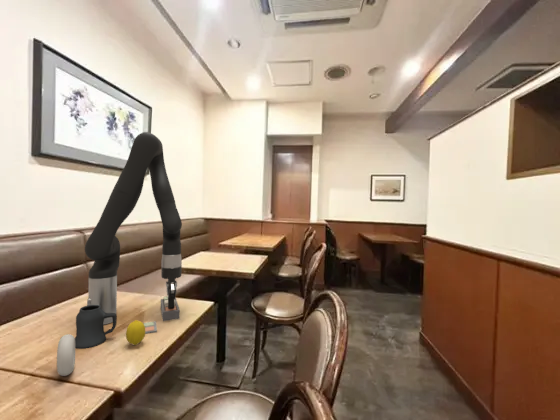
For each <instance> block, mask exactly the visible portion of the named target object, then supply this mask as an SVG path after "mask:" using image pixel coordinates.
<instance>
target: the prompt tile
mask: <svg viewBox="0 0 560 420" xmlns="http://www.w3.org/2000/svg"><path fill="white" fill-rule="evenodd" d="M142 323H143V324H144V326H145V335H149V334H154V333H157V332H158V329H157V321H155V320H154V321H147V322H142Z"/></svg>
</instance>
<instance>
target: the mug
mask: <svg viewBox="0 0 560 420" xmlns="http://www.w3.org/2000/svg"><path fill="white" fill-rule="evenodd" d="M116 313H117V312H116ZM116 313H106V312H105V311H103V310H102V309H101V306H100V305H88V306H87V305H84V306H81V307H80V309H79V312H78V313H77V314H76V316H75V327H76V328H75V330H76V331H75V333H76V334H75V336H74V338H75V350H76V349H77V350H84V349H85V350H86V349H91V348H95V347H98V346H99V345H103V344H104V342H106V341H107V336H106V335H108V334H112V333H113V331H114V330H115V328H117V327H116V326H117V320H118V319H117V317H118V316H117V314H116ZM109 317H112V318H113V322H112V325H111V328H110V329H107V330H106V331H105V326H104V325H105V324H104V325H103V322H104V318H109Z"/></svg>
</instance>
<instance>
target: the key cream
mask: <svg viewBox="0 0 560 420" xmlns="http://www.w3.org/2000/svg"><path fill="white" fill-rule="evenodd" d="M167 306H168V300H164V307H167ZM174 306H175V300H174Z"/></svg>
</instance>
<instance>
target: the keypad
mask: <svg viewBox="0 0 560 420" xmlns="http://www.w3.org/2000/svg"><path fill="white" fill-rule="evenodd" d="M163 300H164V298H160V312H161V318H162V320H161V321H162V322H167V321H169V322H170V321H174V320H180V317H181V313H180V312H181V310H180V307H179V304H178V301H177V297H176V298H175V299H174V300H175V306H176V309H177V310H171V311H165V307H164V302H163ZM167 307H168V306H167Z"/></svg>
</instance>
